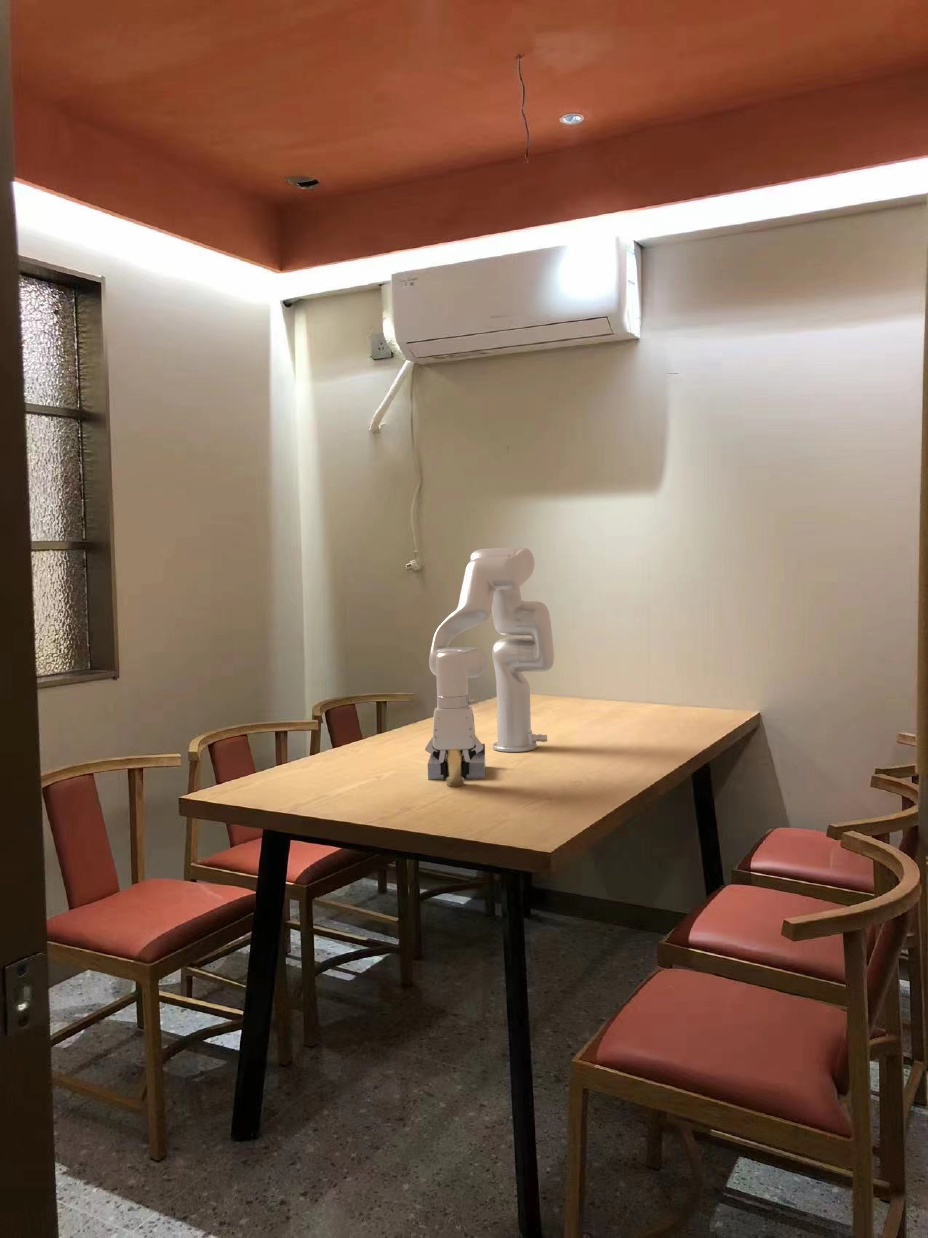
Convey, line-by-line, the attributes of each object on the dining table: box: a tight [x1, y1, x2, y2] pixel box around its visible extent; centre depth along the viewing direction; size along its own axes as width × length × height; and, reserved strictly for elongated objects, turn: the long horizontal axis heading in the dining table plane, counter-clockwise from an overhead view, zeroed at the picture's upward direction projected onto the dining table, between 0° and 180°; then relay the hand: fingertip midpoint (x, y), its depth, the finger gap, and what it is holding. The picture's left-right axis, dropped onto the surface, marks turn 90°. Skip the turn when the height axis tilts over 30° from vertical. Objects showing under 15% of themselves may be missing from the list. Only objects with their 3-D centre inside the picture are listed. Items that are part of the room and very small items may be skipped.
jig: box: [427, 743, 486, 781], centre depth 247 cm, size 14×14×6 cm
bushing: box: [446, 749, 465, 788], centre depth 235 cm, size 4×4×9 cm
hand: (455, 776), depth 235 cm, fingers closed on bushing, 4 cm apart
